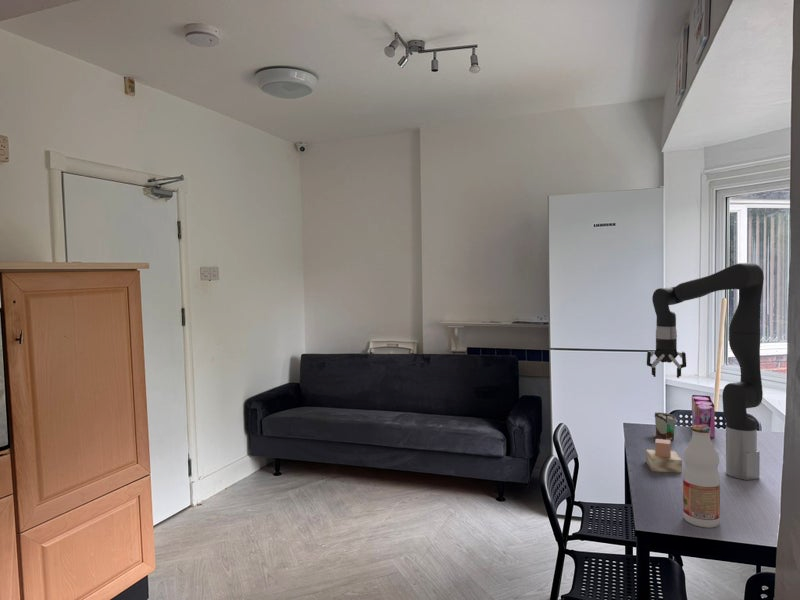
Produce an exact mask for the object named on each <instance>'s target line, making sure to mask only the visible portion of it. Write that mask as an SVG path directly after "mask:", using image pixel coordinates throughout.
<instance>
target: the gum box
mask: <svg viewBox="0 0 800 600" xmlns="http://www.w3.org/2000/svg"><path fill="white" fill-rule="evenodd" d="M715 415H716V414H715V404H714V403H713V400H712V398H711V395H699V394H692V395H691V426H693V425H704V426H708V427H710V428H711V434H710V438H715V435H716V434H715V433H716V429H715V427H716V423H715V421H716V419H715V418H716V417H715Z"/></svg>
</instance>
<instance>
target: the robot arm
mask: <svg viewBox="0 0 800 600" xmlns="http://www.w3.org/2000/svg"><path fill="white" fill-rule="evenodd" d="M764 280H765V277H764V271H763V268H762V267H761V266H760V265H758V264H757V263H753V262H738V263H735V264H731V265H730V266H728V267H725V268H723V269H722V270H719V271H717V272H714V273H712V274H710V275H707V276H702V277H699V278H695V279H691V280H687V281H684V282H682V283H679V284H677V285H675V286H671V287H659V288H656V289H655V290H654V291H653V294H652V298H651V299H652V300H651V301H652V305H653V308H654V312H655V315H656V328H655V349H654V350H655V351H653V350H652V351H651V350H647V353H646V366H647V367H650V368H651V375H652V377H655V378H656V369H657V368H656V367H657V365H659V364H660V362H661V363H669V364H670V363H673V364H674V365H675V366H676V378H677V379H680V377H681V376H682V369H683V368H687V356H686V352H685V351H680V352H679V351H678V350H677V349H678V347H677V346H678V345H677V341H678V340H677V339H678V338H677V337H678V333H677V332H678V331H677V315H676V313H675V312H674V311H671V310H670V306H673V305H677V304H680V303H683V302H686V301H690V300H694V299H699V298H702V297H705V296H706V295H708V294H711V293H715V292H719V291H726V290H727V291H728V290H737V291H738V303H737V306H736V310H735V311H734V314H733V316H732V318H731V320H730V323H729V329H728V331H729V332H728V344H729V347H730V350H731V352H732V354H733V356H734V357H735V359H736V360H737V363H738V365H739V369H740V370H739V371H740V381H739V382H738V381H737V382H729V383H727V384H726V385H725V386H724V388H723V389H722V409H723V411H722V414H723V418H724V421H725V473H726V475H728V476H730V477H733V478H736V479H740V480H744V481H751V480H756V479H760V475H761V474H760V473H761V472H760V467H761V466H760V461H761V460H760V453H761V452H760V451H759V450H758V438H757V437H758V422H757V421H756V419H754V418H752V417H749V416H748V415H747V409H752V408H756V407H758V406H760V405H761V404H762V401H763V397H764V396H763V395H764V394H763V393H764V391H763V382H762V374H761V351H760V350H761V303H762V296H763V287H764ZM653 355H654V356H655V357H656V358H655V359H654V361H653V362H652V363H651V358H652V357H653ZM678 356H679V358H681V363H679V362H678V361H677V360H676V358H678Z"/></svg>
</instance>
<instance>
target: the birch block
mask: <svg viewBox="0 0 800 600" xmlns="http://www.w3.org/2000/svg"><path fill="white" fill-rule="evenodd" d="M645 462H646V463H647V466H648V467H649V468H650V470H651V471H652V472H661V473H663V472H665V473H682V474H683V460H682V458H681V457H680V456H679V454H678V453H677V452H676V451H675V450H671V458H670V457H662V456H655V449H646V450H645Z"/></svg>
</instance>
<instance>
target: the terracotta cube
mask: <svg viewBox="0 0 800 600" xmlns="http://www.w3.org/2000/svg"><path fill="white" fill-rule="evenodd" d="M671 442H672V441H671V440H664V439H661V438H655V443H654V444H655V446H654V448H655V449H654V450H655V456H662V457H670V458H671V451H672V450H671V448H672V447H671V446H672V445H671Z"/></svg>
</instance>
